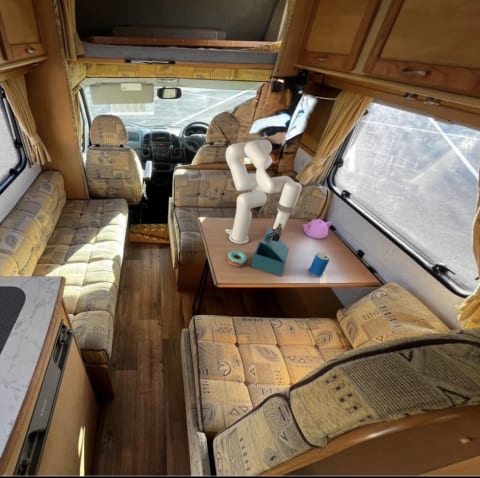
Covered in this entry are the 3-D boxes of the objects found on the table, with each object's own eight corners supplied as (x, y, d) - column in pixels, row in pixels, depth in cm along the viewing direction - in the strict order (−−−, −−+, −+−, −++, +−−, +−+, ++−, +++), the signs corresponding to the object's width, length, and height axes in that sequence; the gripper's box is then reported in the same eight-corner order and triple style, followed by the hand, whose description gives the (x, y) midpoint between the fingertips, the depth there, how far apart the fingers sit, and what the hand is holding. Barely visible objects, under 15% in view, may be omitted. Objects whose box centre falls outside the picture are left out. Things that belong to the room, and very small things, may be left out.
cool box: (250, 266, 144) (254, 254, 139) (255, 253, 154) (259, 241, 149) (280, 276, 138) (284, 263, 133) (283, 261, 148) (288, 249, 143)
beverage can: (321, 279, 137) (329, 261, 130) (307, 274, 140) (315, 257, 133) (322, 272, 141) (330, 254, 134) (309, 267, 144) (317, 250, 137)
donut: (244, 270, 142) (245, 265, 139) (223, 263, 146) (224, 258, 144) (249, 258, 150) (250, 253, 148) (229, 252, 155) (230, 246, 152)
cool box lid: (263, 239, 132) (272, 234, 129) (268, 227, 142) (276, 222, 138) (284, 263, 133) (294, 258, 129) (287, 249, 143) (297, 244, 139)
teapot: (293, 229, 176) (298, 216, 170) (320, 227, 179) (325, 213, 173) (306, 241, 165) (311, 227, 159) (334, 238, 168) (340, 224, 162)
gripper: (280, 198, 133) (271, 228, 143) (274, 212, 121) (265, 244, 131) (296, 202, 130) (285, 232, 141) (292, 217, 118) (280, 248, 128)
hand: (276, 237), depth 136 cm, fingers closed on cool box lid, 5 cm apart
